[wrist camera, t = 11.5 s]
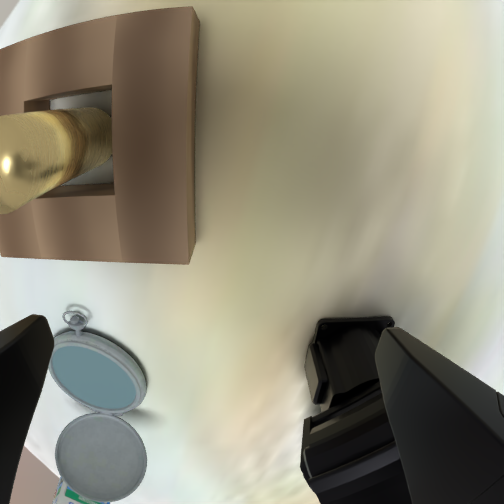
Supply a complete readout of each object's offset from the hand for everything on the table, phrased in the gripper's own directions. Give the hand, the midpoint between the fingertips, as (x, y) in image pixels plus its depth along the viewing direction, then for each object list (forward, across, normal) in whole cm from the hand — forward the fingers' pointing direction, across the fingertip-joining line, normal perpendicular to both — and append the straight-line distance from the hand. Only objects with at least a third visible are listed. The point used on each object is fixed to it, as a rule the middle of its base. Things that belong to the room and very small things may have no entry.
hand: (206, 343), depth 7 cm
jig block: (+13, +9, -4) cm, 16 cm away
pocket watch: (+13, +12, +16) cm, 24 cm away
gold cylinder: (+13, +9, -4) cm, 16 cm away
